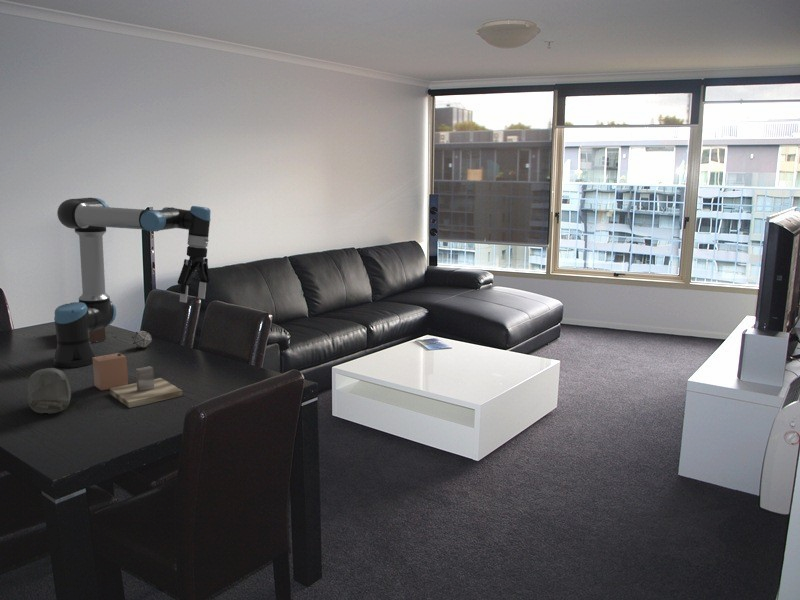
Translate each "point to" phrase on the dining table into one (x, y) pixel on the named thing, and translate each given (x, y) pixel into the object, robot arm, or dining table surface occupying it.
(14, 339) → the dining table surface
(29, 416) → the dining table surface
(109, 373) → the notched tan block
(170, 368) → the dining table surface
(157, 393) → the base
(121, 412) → the dining table surface
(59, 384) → the decorative stone
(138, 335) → the game die
